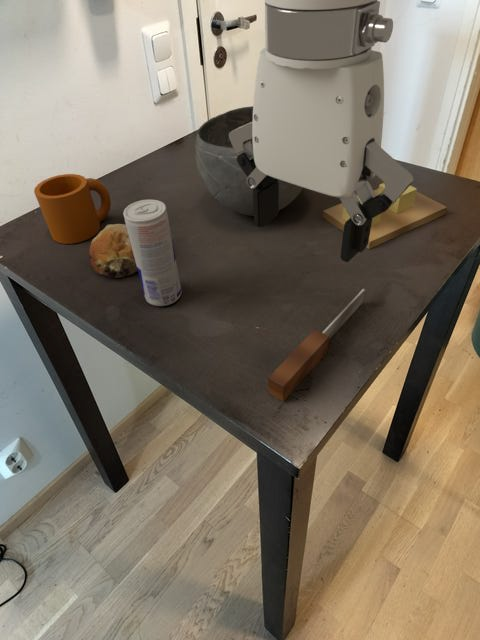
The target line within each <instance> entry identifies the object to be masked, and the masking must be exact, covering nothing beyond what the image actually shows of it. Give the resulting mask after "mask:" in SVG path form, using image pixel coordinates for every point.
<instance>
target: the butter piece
mask: <svg viewBox="0 0 480 640" xmlns="http://www.w3.org/2000/svg"><path fill="white" fill-rule="evenodd" d="M356 195H357V194H356ZM357 197H358V195H357ZM358 199H359V197H358ZM359 201H360V199H359ZM360 202H361V201H360ZM361 204H362V202H361ZM380 217H381V214H379V215H377V216H375V217H374V218H372V224H371V226H374V225H376V224H378V223H380ZM342 218H343V219H345V220H346V221H347V220H349V219H350V216H349V214H348V212H347V211H346V209H345V207H344V206H343V214H342Z"/></svg>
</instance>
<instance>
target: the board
mask: <svg viewBox="0 0 480 640" xmlns="http://www.w3.org/2000/svg"><path fill="white" fill-rule="evenodd" d="M378 190H379V188H376V189H373V191H374V193H375V195H376V196H377V195H378ZM343 206H344V205H343V204H342V202H341V203H338V204H336V205H333V206H331V207H329V208H327V209H323V210H322V219H323V220H325V221H326V222H328V223H329V224H331V225H332V226H334V227H335V228H337V229H338V230H340V231H341V232H343V231H344V224H345V222H346V220H345V219H343V218H342V214H343ZM447 209H448V207H447V206H446V205H444V204H442V203H440V202H438V201H436V200H434V199H432V198H430V197H429V196H426V195H424V194H423V193H421V192H419V191H417V192H416V196H415V201H414V205H413V207H412V208H409V209H407V210H405V211H402V212H400V213H398V214H396V213H394V212H392V211H391V210H389V209H387V210H386V211H385V212H383V213H381V217H380V223H378V224H376V225H374V226H371V230H370V236H369V242H368V245H367V247H366V248H365V249H368V250H370V249H372V248H375V247H377V246H379V245H381V244H383V243H385V242H388V241H390V240H392V239H395V238H396V237H399V236H401V235H404V234H405V233H408V232H409V231H412V230H414V229H416V228H419V227H421V226H423V225H425V224H428V223H430V222H432V221H434V220H436V219H438V218H441V217H442V216H445V215H446V213H447Z"/></svg>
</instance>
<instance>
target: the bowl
mask: <svg viewBox="0 0 480 640" xmlns="http://www.w3.org/2000/svg"><path fill="white" fill-rule="evenodd" d="M250 122H253V105H252V106H251V105H250V106H243V107H237V108H235V109H231V110H228V111H225V112H224V113H220V114H218V115H216V116H213V117H211V118H210V119H208V120H207V121H205V122H203V124H202V125H201V126H199V128H198V129H197V134H196V138H195V142H194V159H195V165H196V168H197V171H198V175H199V178H200V180H201V182H202V184H203V186H204V187H205V189H206V190H207V191H208V193H209V194H210V195H211V196H212V197H213V198H214V199H215V200H216V201H217V202H219V203H220V204H221V205H222V206H224V207H225V208H227V209H228V210H230V211H232V212H233V213H236V214H239V215H243V216H248V217H249V216H250V217H254V207H253V189H252V188H250V187H249V186H248V185H247V182H246V179H247V176H246V174H245V173H244V171H243V170H242V168H241V167H240V166H239V164H238V162H237V156H238V155H237V154H236V153H235V151H234V148H233V146H232V144H231V141H230V139H229V133H230V132H231V131H233V130H235V129H237V128H239V127H241V126H243V125H246V124H248V123H250ZM251 144H252V149H253V138H252V139H251ZM278 182H279V211H281V210H282V209H285V208H286V207H287V206H288V205H290V204H291V203H292V202H293V201H294V200H296V198H297V196H298V195H299V194H300V193H301V192H302V190H303V189H304V188H303V187H300V186H297V185H294V184H291V183H288V182H285V181H282V180H279V179H278Z"/></svg>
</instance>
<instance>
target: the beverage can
mask: <svg viewBox="0 0 480 640" xmlns="http://www.w3.org/2000/svg"><path fill="white" fill-rule="evenodd" d="M122 213H123V218H124V224H125V225H126V227H127V231H128V234H129V238H130V242H131V246H132V250H133V254H134V258H135V261H136V265H137V269H138V271H137V273H138V276H139V280H140V285H141V288H142V292H143V296H144V299H145V301H146V302H147V303H148V304H150V305H152V306H155V307H164V306H169V305H172V304H174V303H175V302H177V301H178V300H179V299H180V298H181V296H182V293H183V291H182V285H181V280H180V274H179V269H178V263H177V259H176V252H175V248H174V241H173V236H172V232H171V231H172V230H171V224H170V221H169V220H170V219H169V215H168V211H167V205H166V204H165V203H164V202H163V201H160V200H157V199H141V200H138V201H135V202H132V203H130V204H128V205H127V206H126V207H125V208H124V210H123V211H122Z"/></svg>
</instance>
